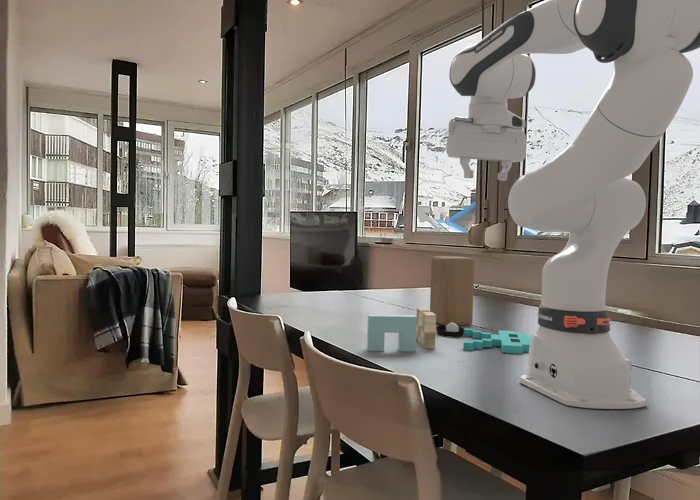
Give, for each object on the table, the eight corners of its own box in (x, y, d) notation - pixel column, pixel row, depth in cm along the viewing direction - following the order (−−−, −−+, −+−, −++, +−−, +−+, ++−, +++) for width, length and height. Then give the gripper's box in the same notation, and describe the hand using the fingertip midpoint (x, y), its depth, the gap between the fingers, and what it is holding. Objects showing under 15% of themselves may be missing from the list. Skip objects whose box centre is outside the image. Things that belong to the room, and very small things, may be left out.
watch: (466, 336, 153) (467, 323, 153) (460, 339, 149) (460, 325, 149) (440, 333, 157) (440, 319, 157) (432, 335, 153) (433, 322, 153)
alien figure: (463, 351, 135) (552, 357, 131) (463, 342, 135) (552, 348, 131) (464, 336, 154) (541, 341, 150) (464, 328, 154) (542, 332, 150)
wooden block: (428, 320, 176) (430, 255, 176) (457, 320, 179) (459, 256, 179) (443, 326, 167) (445, 257, 166) (473, 325, 170) (475, 258, 169)
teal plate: (415, 351, 132) (416, 316, 131) (368, 351, 131) (368, 316, 131) (413, 349, 134) (414, 315, 134) (367, 348, 133) (367, 314, 133)
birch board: (435, 348, 135) (436, 314, 135) (425, 348, 135) (425, 314, 135) (424, 338, 147) (425, 307, 147) (415, 338, 147) (416, 307, 147)
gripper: (457, 113, 127) (455, 175, 128) (531, 121, 135) (529, 180, 136) (442, 117, 133) (440, 177, 134) (514, 125, 141) (512, 182, 141)
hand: (485, 179), depth 135 cm, fingers open, 8 cm apart
